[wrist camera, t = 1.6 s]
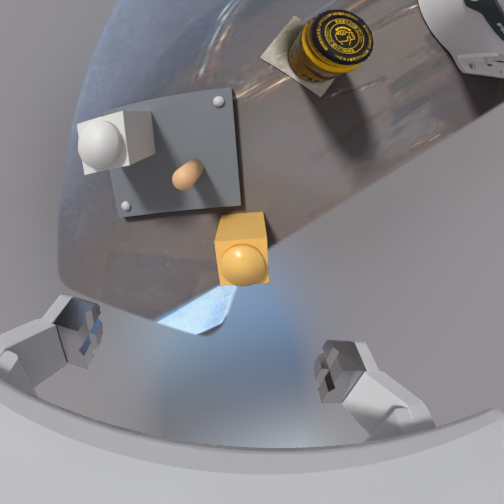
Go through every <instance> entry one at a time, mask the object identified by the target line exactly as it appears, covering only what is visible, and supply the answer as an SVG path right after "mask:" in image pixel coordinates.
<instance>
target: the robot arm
mask: <svg viewBox="0 0 504 504" xmlns="http://www.w3.org/2000/svg"><path fill="white" fill-rule="evenodd" d="M418 2H419V7H420V10H421V13H422V15H423V17H424V19H425V21H426V23H427V25H428V27H429V28H430V30H431V31H432V33H433V34H434V36H435V37H436V38H437V39H438V41H439V42H440V43H441V44H442V45H443V46H444V47H445V48H446V49H447V50H448V51H449V52H450V54H451V55H452V57H453V59H454V61H455V62H456V64H457V66H458V68H459V69H460V71H461V72H463V73H465V74H474V75H482V76H489V77H496V78H502V79H504V0H418ZM469 65H470V66H469ZM99 315H100V307H99V305H98V304H97V303H93V302H89V301H86V300H83V299H79V298H76V297H72V296H68V295H65V294H62V295H60V296H59V297H58V299H57V300H56V301H55V302H54V303H53V305H52V306H51V307H50V309H49V310H48V311H47V312H46V314H45V315H44V316H43V318H42V319H41V320H40V319H36V320H33V321H31V322H29V323H26V324H24V325H22V326H20V327H18V328H15V329H13V330H10V331H8V332H6V333H3V334H1V335H0V504H504V413H503V412H502V411H500V410H498V409H497V408H489V409H486V410H484V411H481V412H479V413H476V414H473V415H471V416H468V417H465V418H462V419H459V420H456V421H453V422H450V423H447V424H444V425H440V426H437V427H436V426H435V424H434V421H433V420H432V417H431V415H430V413H429V411H428V409H427V407H426V405H425V403H423V402H422V401H421V400H420V399H418V398H417V397H416V396H414V395H413V394H412V393H410V392H409V391H408V390H406V389H405V388H404V387H403V386H401V385H400V384H399V383H397V382H396V381H394V380H393V379H392V378H391V377H389V376H388V375H387V374H386V373H384V372H383V371H379V369H378V367H377V365H376V363H375V361H374V359H373V357H372V355H371V353H370V351H369V348H368V346H367V344H366V343H365V342H364V341H338V340H327V341H326V342H325V344H324V345H323V347H322V348H323V351H324V353H322V354H320V355H319V356H318V358H317V360H316V362H315V367H314V375H315V379H316V381H318V382H319V383H320V384H321V385H320V387H319V388H318V390H319V394H320V398H321V402H322V403H342V405H343V406H344V407H345V408H346V409H347V410H348V411H349V412H350V414H351V415H352V416H353V417H354V418H355V419H356V420H357V421H358V422H359V424H360V425H361V426H362V427H363V428H364V429H365V430H366V431H367V432H368V433H369V435H370V436H369V437H368V438H367V439H366V440H365V441H364V442H361V443H355V444H346V445H336V446H326V447H325V446H324V447H310V448H309V447H308V448H249V447H233V446H222V445H212V444H204V443H196V442H189V441H182V440H176V439H171V438H165V437H160V436H155V435H151V434H146V433H142V432H138V431H133V430H130V429H125V428H122V427H118V426H115V425H111V424H108V423H105V422H101V421H98V420H95V419H92V418H89V417H86V416H83V415H80V414H78V413H75V412H72V411H70V410H67V409H64V408H62V407H59V406H57V405H54V404H52V403H50V402H47V401H45V400H43V399H41V398H39V397H38V395H37V393H36V392H35V390H34V387H36V386H37V385H38V384H40V383H41V382H43V381H44V380H45V379H47V378H48V377H50V376H51V375H53V374H54V373H55V372H57V371H58V370H60V369H61V368H63V367H64V366H65V365H67V363H69V364H73V365H76V366H79V367H83V368H86V369H87V368H88V367H89V364H90V363H91V361H92V359H93V357H94V354H93V350H94V349H96V348H98V346H99V344H100V342H101V338H102V334H103V327H102V322H101V321H100V320H99V318H98V317H99Z"/></svg>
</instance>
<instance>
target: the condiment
mask: <svg viewBox="0 0 504 504" xmlns="http://www.w3.org/2000/svg"><path fill="white" fill-rule="evenodd" d="M372 49H373V37H372V32H371V31H370V29H369V28H368V26H367V25H366V23H365V22H364V21H363V20H362V19H361V18H359V17H358V16H357V15H355V14H353V13H351V12H349V11H345V10H328V11H325V12H323V13H322V14H319V16H317V17H316V18H313V19H312V20H310V21H309V22H308V23H306V22H304V21H303V20H301V19H299V18H298V17H296V16H293V18H292V19H291V20H290V21H289V22H288V24H287V25H286V26H285V27H284V28H283V30H282V31H281V32H280V33H279V34H278V36H277V37H276V38H275V40H274V41H273V42H272V43H271V44H270V46H269V47H268V48H267V50H266V51H265V52H264V53H263V55H262V56H261V57H260V58H261V59H263V60H264V61H266V62H268V63H269V64H271V65H273V66H275V67H276V68H278V69H279V70H281V71H283V72H284V73H286V74H287V75H289V76H290V77H292V78H293V79H295V80H296V81H298V82H299V83H301V84H302V85H304V86H305V87H306V88H308V89H309V90H311V91H312V92H314V93H315V94H316V95H318V96H319V97H322V96H323V95H324V93H325V92H326V91H327V89H328V88H329V86H330V85H331V84H332V82H333V81H334V80H335V78H336V77H337V76H340V75H342V74H345V73H348V72H350V71H352V70H354V69H356V68H357V67H358V66H359V65H360V64H361V63H362V62H363V61H365V60H366V59H367V58H368V57H369V56H370V54H371V52H372ZM284 52H285V53H286V55H285V54H284ZM286 56H287V58H286Z"/></svg>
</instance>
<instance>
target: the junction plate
mask: <svg viewBox="0 0 504 504" xmlns="http://www.w3.org/2000/svg"><path fill="white" fill-rule="evenodd" d="M101 113H102V117H99V118H95V119H92V120H89V121H86V122H82V123H79V124H77V127H78V135H79V141H78V151H79V155H80V157H81V159H82V162H83V168H84V173H85V175H86V174H90V173H94V172H99V171H104V170H108V169H109V171H110V177H111V182H112V187H113V193H114V197H115V202H116V207H117V211H118V216H119V218H121V217H128V216H137V215H145V214H154V213H163V212H173V211H183V210H193V209H204V208H216V207H228V206H241V193H240V181H239V169H238V157H237V145H236V133H235V120H234V108H233V95H232V88H222V89H213V90H205V91H197V92H190V93H184V94H178V95H172V96H167V97H161V98H156V99H152V100H147V101H142V102H138V103H134V104H130V105H126V106H122V107H118V108H114V109H111V110H107V111H103V112H101Z"/></svg>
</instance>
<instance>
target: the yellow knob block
mask: <svg viewBox="0 0 504 504" xmlns="http://www.w3.org/2000/svg"><path fill="white" fill-rule="evenodd" d="M214 243H215V250H216V257H217V264H218V271H219V278H220V285H221V286H222V285H236V286H249V285H252V284H256V283H269V272H268V271H269V270H268V250H267V235H266V228H265V221H264V214H263V212H254V213H240V214H226V215H221V218H220V222H219V226H218V230H217V233H216V237H215V241H214Z"/></svg>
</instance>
